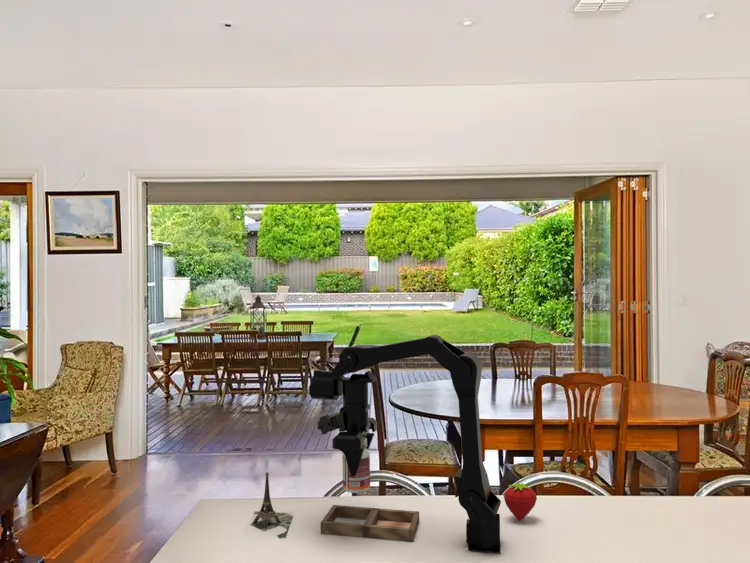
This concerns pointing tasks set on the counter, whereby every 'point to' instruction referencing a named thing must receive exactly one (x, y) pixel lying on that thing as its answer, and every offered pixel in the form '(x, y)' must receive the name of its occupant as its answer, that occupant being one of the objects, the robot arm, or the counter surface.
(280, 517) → the eiffel tower figurine
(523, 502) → the strawberry
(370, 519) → the caddy
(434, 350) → the robot arm
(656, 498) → the counter surface
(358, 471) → the pill bottle
